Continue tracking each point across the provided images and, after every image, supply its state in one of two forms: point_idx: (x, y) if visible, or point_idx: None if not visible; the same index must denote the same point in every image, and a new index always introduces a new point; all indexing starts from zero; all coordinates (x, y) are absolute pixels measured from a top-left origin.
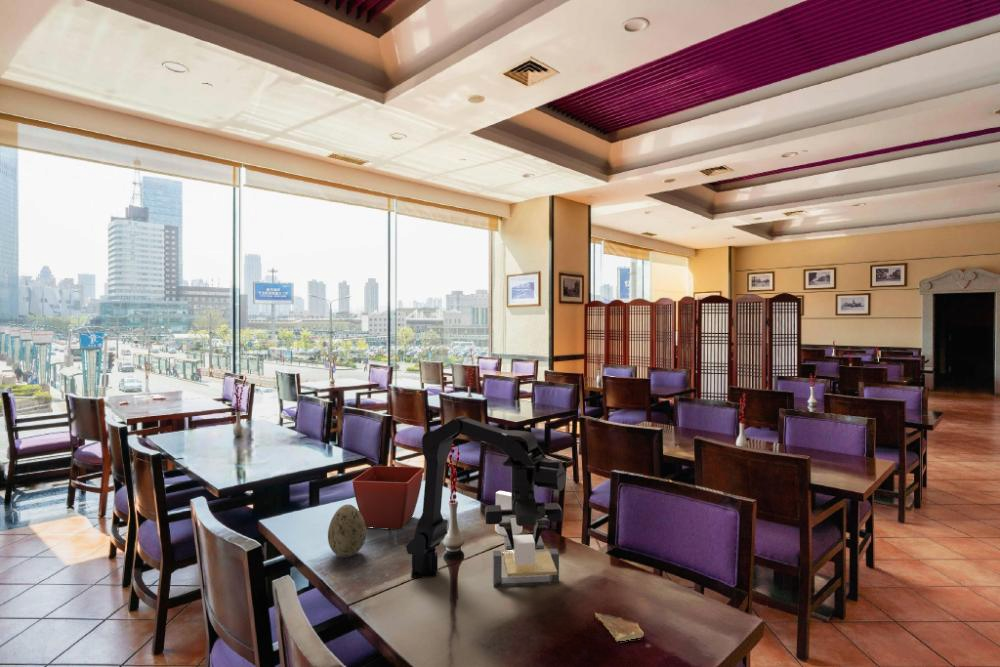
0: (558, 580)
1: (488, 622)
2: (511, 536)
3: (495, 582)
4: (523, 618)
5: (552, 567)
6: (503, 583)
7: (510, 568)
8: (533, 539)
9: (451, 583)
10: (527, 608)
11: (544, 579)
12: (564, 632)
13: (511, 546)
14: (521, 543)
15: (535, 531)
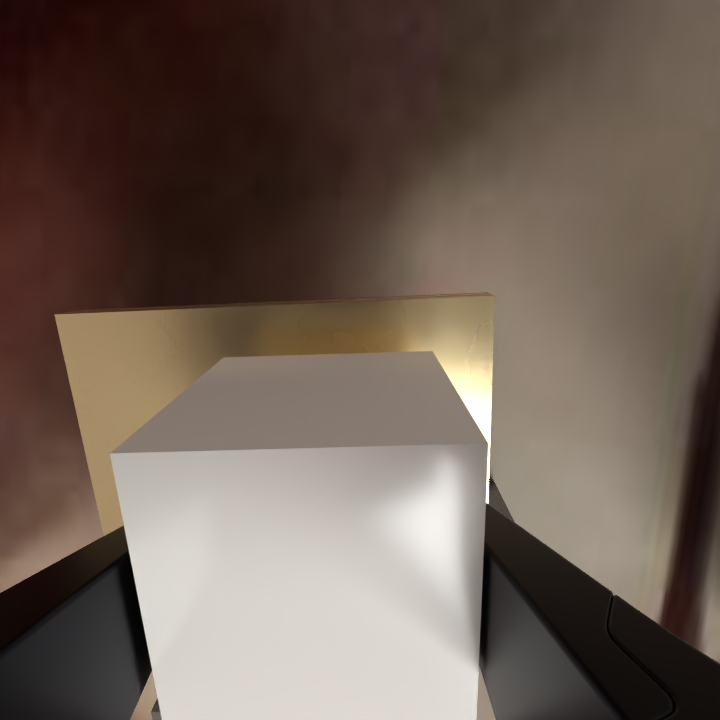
0: None
1: (563, 135)
2: (558, 606)
3: (491, 494)
4: (367, 170)
5: (96, 388)
6: None
7: (456, 384)
8: (142, 577)
9: (708, 522)
10: (337, 270)
11: None
12: (151, 15)
13: (493, 507)
14: (357, 445)
15: (2, 715)
